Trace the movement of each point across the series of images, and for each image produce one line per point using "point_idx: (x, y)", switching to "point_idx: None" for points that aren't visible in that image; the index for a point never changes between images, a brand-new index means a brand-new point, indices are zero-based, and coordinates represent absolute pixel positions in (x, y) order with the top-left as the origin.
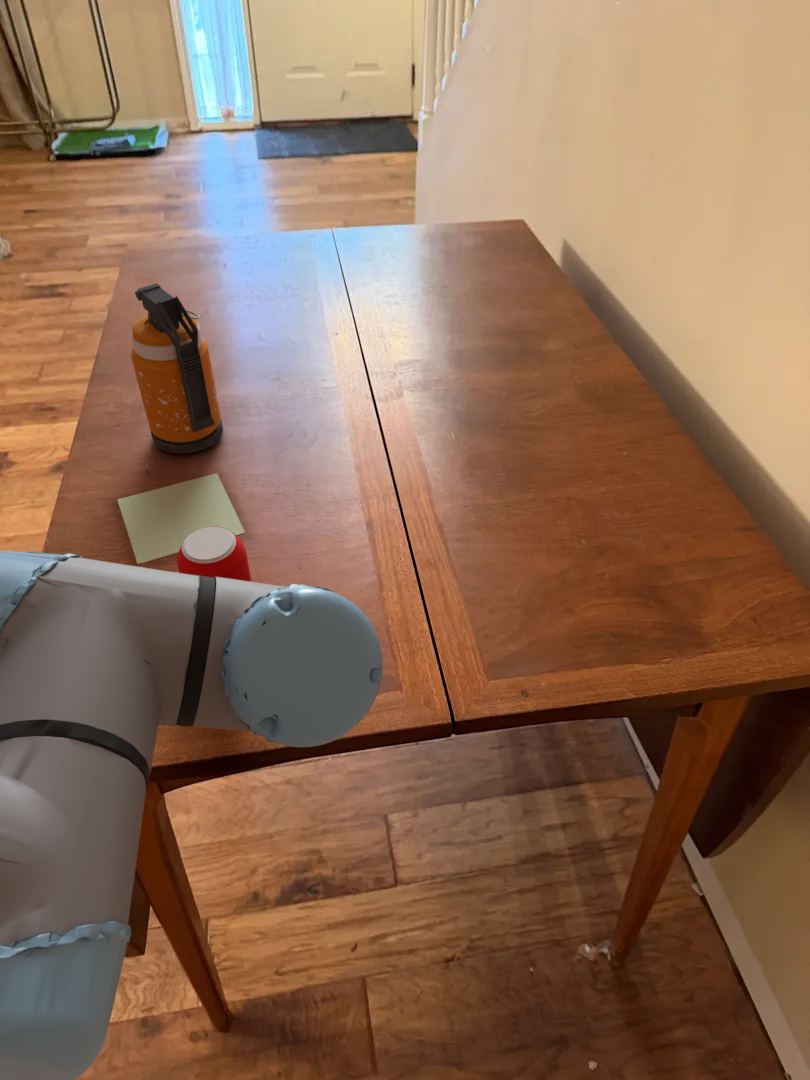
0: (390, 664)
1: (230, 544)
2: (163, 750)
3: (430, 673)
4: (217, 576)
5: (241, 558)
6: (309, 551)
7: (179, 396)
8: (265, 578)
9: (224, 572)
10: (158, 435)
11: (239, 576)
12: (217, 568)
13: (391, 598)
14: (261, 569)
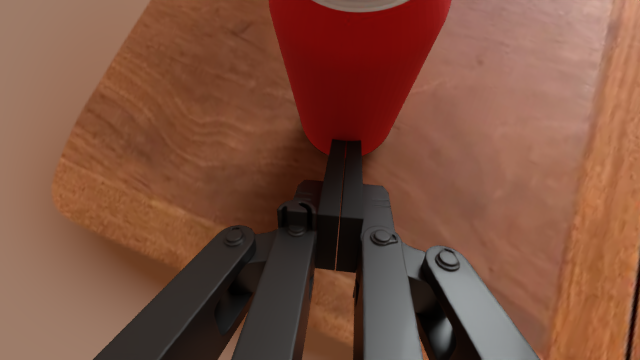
0: (547, 299)
1: None
2: None
3: (607, 354)
4: (344, 61)
5: (431, 28)
6: (504, 39)
7: None
8: (426, 58)
9: (367, 56)
10: None
11: (399, 76)
12: (352, 37)
13: (597, 178)
14: None
